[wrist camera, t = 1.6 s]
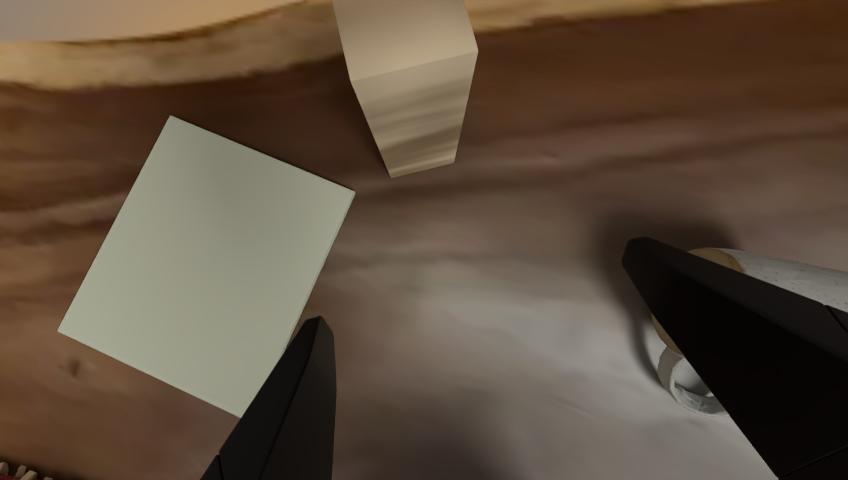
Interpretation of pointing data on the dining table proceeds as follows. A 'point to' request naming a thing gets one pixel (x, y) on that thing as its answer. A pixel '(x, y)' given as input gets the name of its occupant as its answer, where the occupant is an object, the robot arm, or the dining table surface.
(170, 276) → the sage placemat
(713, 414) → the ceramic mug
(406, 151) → the beige rectangular block
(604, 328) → the dining table surface
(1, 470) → the woven mat
